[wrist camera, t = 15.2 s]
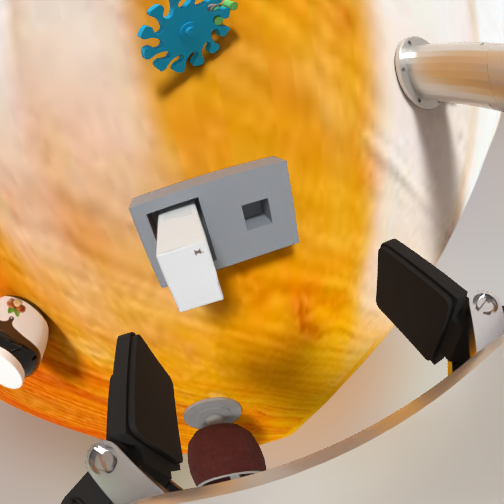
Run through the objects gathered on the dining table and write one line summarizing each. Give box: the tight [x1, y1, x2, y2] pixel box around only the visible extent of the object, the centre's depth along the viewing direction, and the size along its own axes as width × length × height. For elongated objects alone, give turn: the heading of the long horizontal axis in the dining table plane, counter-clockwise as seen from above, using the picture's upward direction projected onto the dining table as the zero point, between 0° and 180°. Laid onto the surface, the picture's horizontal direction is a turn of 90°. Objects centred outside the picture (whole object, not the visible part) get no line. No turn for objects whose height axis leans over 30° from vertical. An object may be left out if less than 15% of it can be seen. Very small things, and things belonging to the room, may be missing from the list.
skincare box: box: [156, 199, 224, 312], centre depth 27 cm, size 6×4×12 cm
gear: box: [137, 0, 238, 72], centre depth 21 cm, size 11×6×10 cm
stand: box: [129, 156, 299, 288], centre depth 32 cm, size 17×10×4 cm, turn 102°
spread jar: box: [0, 295, 49, 389], centre depth 26 cm, size 12×11×12 cm
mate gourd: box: [184, 397, 266, 487], centre depth 43 cm, size 16×14×20 cm
